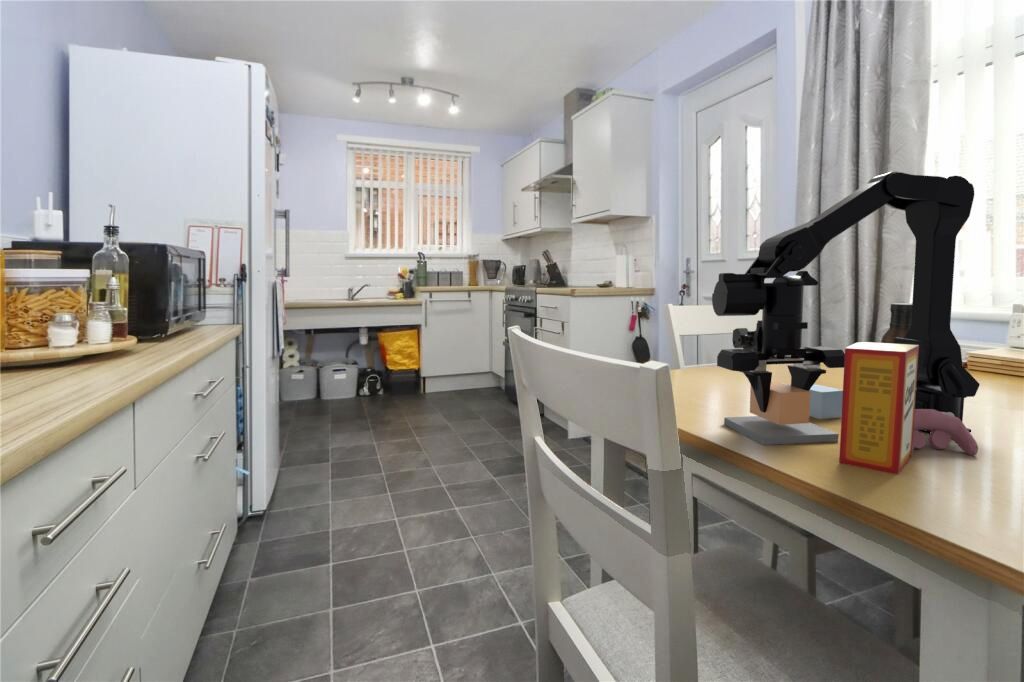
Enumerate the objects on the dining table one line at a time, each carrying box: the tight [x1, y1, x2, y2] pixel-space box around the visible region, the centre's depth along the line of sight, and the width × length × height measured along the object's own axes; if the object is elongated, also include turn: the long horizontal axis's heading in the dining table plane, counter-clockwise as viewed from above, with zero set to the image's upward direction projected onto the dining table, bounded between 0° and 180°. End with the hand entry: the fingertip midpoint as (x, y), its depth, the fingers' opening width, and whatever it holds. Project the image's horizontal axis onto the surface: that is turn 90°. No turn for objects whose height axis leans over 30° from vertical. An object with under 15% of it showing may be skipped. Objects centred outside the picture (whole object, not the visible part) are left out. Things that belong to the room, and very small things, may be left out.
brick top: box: [786, 383, 843, 420], centre depth 98 cm, size 5×8×5 cm, turn 15°
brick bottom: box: [749, 381, 810, 425], centre depth 85 cm, size 5×8×5 cm, turn 7°
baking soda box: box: [838, 341, 919, 475], centre depth 72 cm, size 10×6×16 cm
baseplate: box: [723, 415, 839, 446], centre depth 86 cm, size 12×12×1 cm
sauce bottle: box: [880, 302, 912, 344], centre depth 101 cm, size 6×6×20 cm
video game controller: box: [912, 409, 979, 457], centre depth 76 cm, size 10×5×7 cm, turn 84°
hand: (778, 411), depth 86 cm, fingers closed on brick bottom, 5 cm apart
